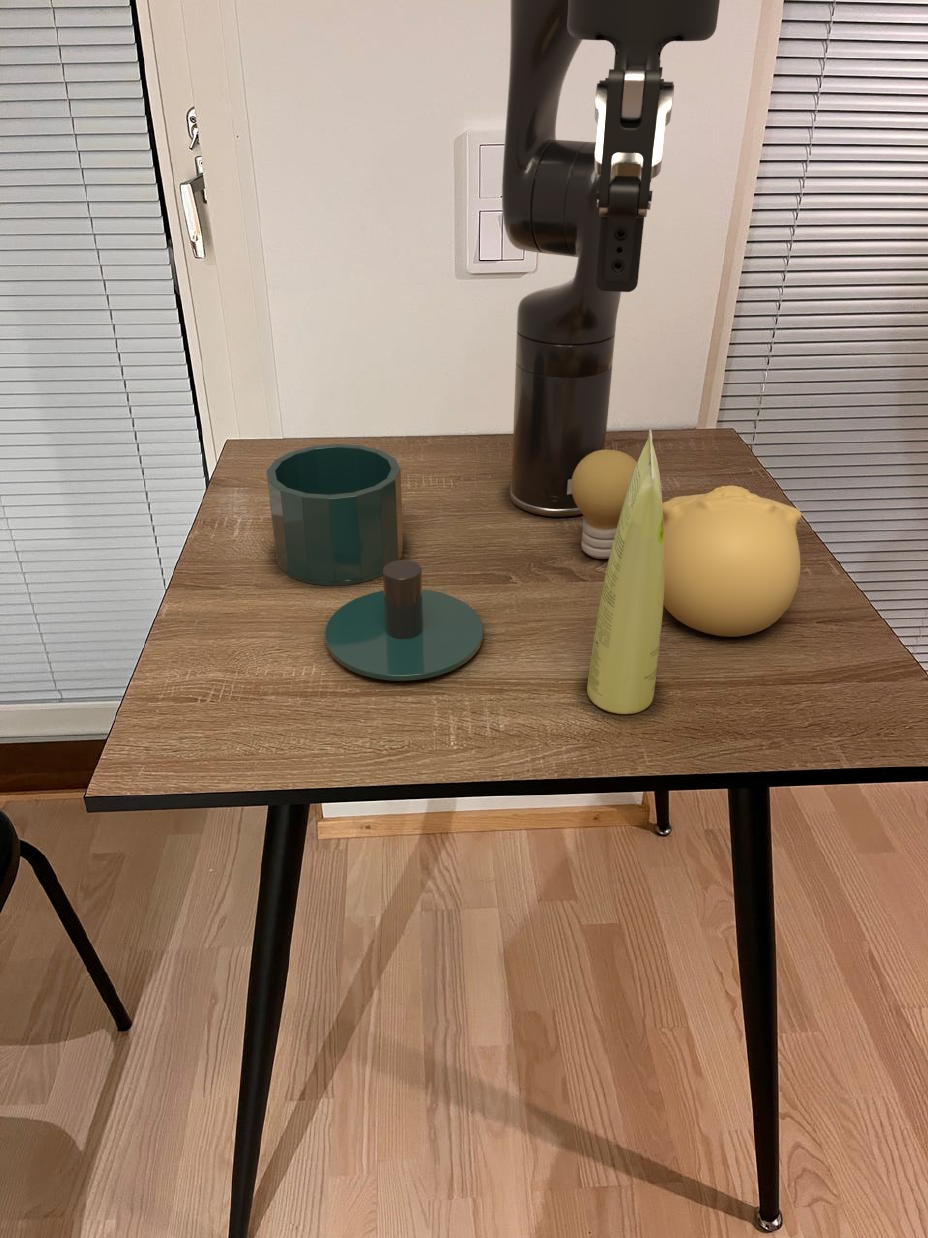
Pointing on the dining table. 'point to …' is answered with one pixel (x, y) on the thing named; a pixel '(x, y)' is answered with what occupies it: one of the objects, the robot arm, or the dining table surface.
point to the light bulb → (601, 497)
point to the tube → (632, 598)
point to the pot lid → (403, 629)
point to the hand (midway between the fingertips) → (618, 272)
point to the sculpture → (729, 560)
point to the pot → (336, 513)
